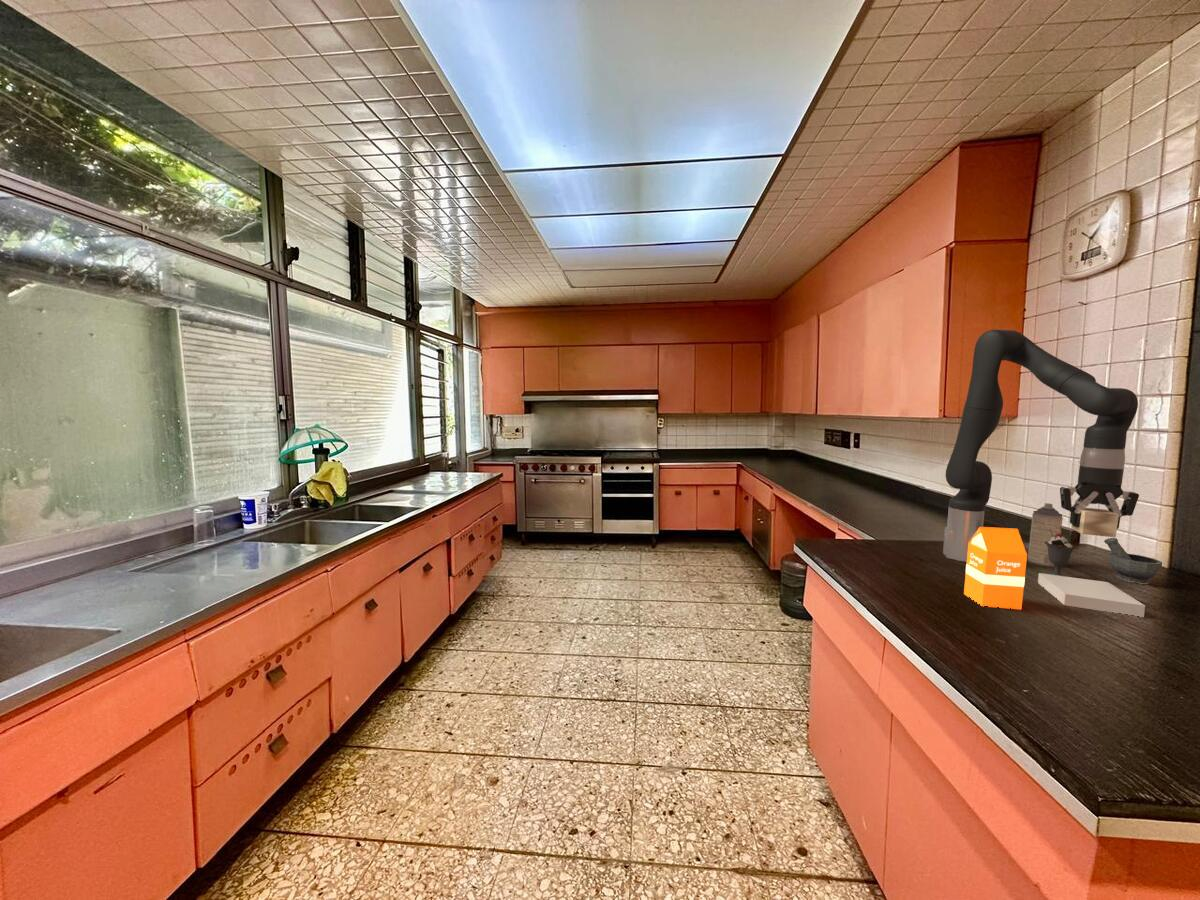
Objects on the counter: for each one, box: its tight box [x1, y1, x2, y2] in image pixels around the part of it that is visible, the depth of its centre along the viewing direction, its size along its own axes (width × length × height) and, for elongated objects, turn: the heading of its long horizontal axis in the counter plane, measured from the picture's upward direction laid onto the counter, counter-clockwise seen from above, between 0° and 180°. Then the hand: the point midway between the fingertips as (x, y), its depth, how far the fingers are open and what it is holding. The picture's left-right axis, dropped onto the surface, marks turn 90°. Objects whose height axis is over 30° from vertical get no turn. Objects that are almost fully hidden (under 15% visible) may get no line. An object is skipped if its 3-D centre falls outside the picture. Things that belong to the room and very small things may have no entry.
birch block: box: [1070, 507, 1119, 538], centre depth 113 cm, size 6×6×6 cm
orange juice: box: [963, 526, 1028, 610], centre depth 113 cm, size 8×9×20 cm
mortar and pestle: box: [1103, 537, 1163, 583], centre depth 127 cm, size 11×9×12 cm
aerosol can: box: [1027, 502, 1064, 568], centre depth 140 cm, size 7×7×20 cm
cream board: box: [1037, 572, 1146, 618], centre depth 115 cm, size 14×16×3 cm
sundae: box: [1044, 527, 1077, 576], centre depth 129 cm, size 7×7×15 cm
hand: (1093, 528), depth 113 cm, fingers closed on birch block, 6 cm apart
